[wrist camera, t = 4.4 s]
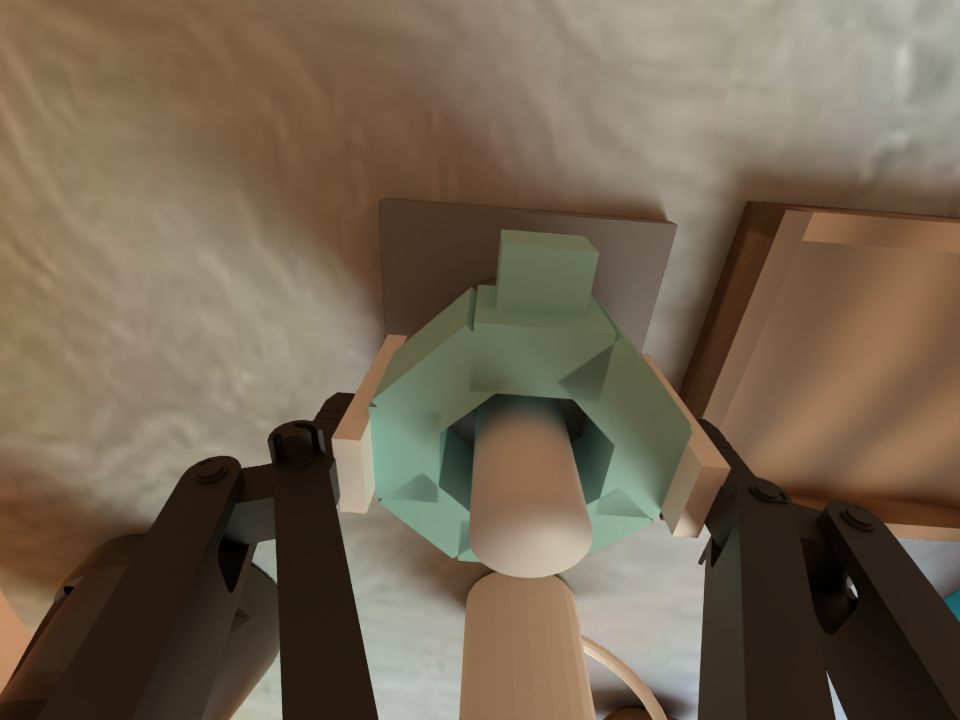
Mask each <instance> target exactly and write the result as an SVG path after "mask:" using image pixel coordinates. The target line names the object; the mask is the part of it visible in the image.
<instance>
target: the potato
mask: <svg viewBox="0 0 960 720" xmlns="http://www.w3.org/2000/svg"><path fill="white" fill-rule="evenodd" d="M665 716H666V718H667V720H678V719H675V718H673V717H671V716H668V715H665ZM604 720H653V719H652V717H651V715H650V714H649V712H648V711H647V710H644V709H640V708H636V707H625V708H622V709H619V710H616V711H615V712H613V713H611V714H610V715H608V716H607V717H606V718H605V719H604Z"/></svg>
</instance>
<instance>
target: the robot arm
mask: <svg viewBox="0 0 960 720" xmlns="http://www.w3.org/2000/svg"><path fill="white" fill-rule="evenodd" d="M406 341H407V336H402V335H389V334H388V336H387V338H386V340H385V341H384V343H383V345H382V347H381V349H380V351H379V352H378V354H377V356H376V358H375V360H374V362H373V363H372V365H371V367H370V369H369V371H368V373H367V374H366V376H365V378H364V380H363V382H362V383H361V385H360V387H359V389H358V391H357V393H356V394H353V393H340V392H337V393H336V394H334V395H333V396H332V397H330V398H329V399H327V400H326V401H325V403H324V404H323V406H322V408H321V409H320V412H318V414H317V415H316V417H315V420H313V421H307V420H298V421H292V422H288V423H285V424H283V425H281V426H279V427H277V428H275V429H274V430H273V431H272V432H271V434H270V435H269V438H268V446H269V450H270V455H271V459H272V463H270V464H266V465H261V466H255V467H248V468H241V464H240V463H239V461H238V460H237V459H235V458H233V457H230V456H217V457H211V458H208V459H205V460H203V461H200V462H198V463H196V464H195V465H193V466H192V467H190V468H189V469H188V470H187V471H186V472H185V473H184V474H183V475H182V477H181V478H180V480H179V482H178V483H177V485H176V487H175V488H174V490H173V492H172V494H171V495H170V497H169V499H168V500H167V502H166V504H165V505H164V507H163V509H162V510H161V512H160V514H159V515H158V517H157V519H156V520H155V522H154V524H153V525H152V527H151V529H150V530H149V532H148V534H147V535H135V536H127V537H122V538H118V539H115V540H112V541H109V542H107V543H105V544H103V545H101V546H99V547H98V548H97V549H95V550H94V551H93V552H92V553H91V554H90V555H89V556H88V557H87V558H86V559H85V560H84V561H83V562H82V563H81V564H80V565H79V566H78V567H77V568H76V569H75V571H74V572H73V573H72V574H71V575H70V576H69V577H68V578H67V579H66V580H65V582H64V583H63V584H62V586H61V587H60V589H59V591H58V593H57V594H56V596H55V599H54V603H53V605H52V606H51V608H50V609H49V611H48V612H47V614H46V616H45V617H44V619H43V621H42V622H41V624H40V626H39V627H38V629H37V631H36V632H35V634H34V636H33V638H32V640H31V642H30V643H29V645H28V647H27V649H26V650H25V652H24V654H23V656H22V658H21V660H20V661H19V663H18V665H17V667H16V669H15V670H14V672H13V674H12V676H11V678H10V679H9V681H8V683H7V685H6V686H5V688H4V689H3V691H2V692H1V694H0V720H230V719H231V717H232V716H233V715H234V713H235V712H236V711H237V709H238V708H239V707H240V706H241V704H242V703H243V702H244V700H245V699H246V698H247V696H248V695H249V694H250V692H251V691H252V690H253V689H254V687H255V686H256V685H257V683H258V682H259V681H260V679H261V678H262V677H263V675H264V674H265V673H266V671H267V670H268V669H269V667H270V666H271V665H272V663H273V662H274V660H275V658H276V656H277V655H278V652H279V650H280V663H281V689H282V715H283V720H379V719H378V714H377V709H376V704H375V699H374V694H373V689H372V684H371V679H370V674H369V669H368V664H367V659H366V654H365V649H364V644H363V639H362V634H361V629H360V624H359V619H358V614H357V609H356V604H355V599H354V594H353V589H352V584H351V579H350V574H349V569H348V564H347V559H346V554H345V549H344V544H343V539H342V534H341V529H340V524H339V519H338V514H337V509H336V505H337V503H338V500H339V501H340V509H341V512H352V513H366V514H367V511H368V508H369V505H370V502H371V499H372V496H373V493H374V490H375V481H374V467H373V453H372V439H371V425H370V419H369V409H368V407H369V404H370V402H371V400H372V398H373V396H374V394H375V391H376V389H377V387H378V385H379V383H380V381H381V379H382V377H383V375H384V372H385V370H386V368H387V366H388V364H389V362H390V360H391V358H392V356H393V354H394V351H396V350H397V349H398V348H399V347H400V346H402V345H403V344H404V343H405V342H406ZM641 355H642V356H643V357H644V359H645V360H646V361H647V363H648V364H649V365H650V367H651V368H652V369H653V370H654V372H655V373H656V375H657V376H658V378H659V379H660V380H661V382H662V383H663V385H664V386H665V388H666V389H667V390H668V392H669V393H670V395H671V396H672V398H673V399H674V400H675V402H676V403H677V405H678V406H679V408H680V409H681V410H682V412H683V413H684V415H685V416H686V418H687V419H688V420H689V422H690V423H691V426H690V428H691V430H692V434H691V436H690V439H689V441H688V442H687V444H686V447H685V449H684V452H683V454H682V457H681V459H680V462H679V464H678V467H677V470H676V472H675V475H674V477H673V480H672V482H671V485H670V487H669V490H668V492H667V495H666V497H665V500H664V502H663V505H662V507H661V512H662V514H663V516H664V519H665V521H666V523H667V525H668V527H669V530H670V532H671V534H672V536H680V537H694V538H698V536H699V534H700V532H701V530H702V528H703V526H704V524H705V525H706V527H707V528H708V530H709V532H710V534H711V537H710V539H709V541H708V543H707V545H706V547H705V549H704V551H703V553H702V555H701V557H700V559H699V562H698V564H700V565H702V564H703V562H704V560H706V565H705V584H704V604H703V624H702V644H701V664H700V683H699V703H698V720H836V718H835V713H834V708H833V703H832V698H831V693H830V688H829V683H828V678H827V673H828V675H829V678H830V680H831V682H832V685H833V687H834V689H835V692H836V694H837V696H838V698H839V701H840V703H841V705H842V708H843V710H844V712H845V715H846V717H847V719H848V720H960V622H959V620H958V619H957V618H956V616H955V615H954V614H953V612H952V611H951V610H950V608H949V607H948V606H947V604H946V603H945V602H944V601H943V599H942V598H941V597H940V595H939V594H938V593H937V591H936V590H935V589H934V587H933V586H932V585H931V583H930V582H929V581H928V580H927V578H926V577H925V576H924V574H923V573H922V572H921V570H920V569H919V568H918V566H917V565H916V564H915V562H914V561H913V560H912V559H911V557H910V556H909V555H908V553H907V552H906V551H905V549H904V548H903V547H902V545H901V544H900V543H899V541H898V540H897V539H896V538H895V536H894V535H893V534H892V532H891V531H890V530H889V528H888V527H887V526H886V525H885V524H884V523H883V522H882V521H881V520H880V519H879V518H878V517H877V516H875V515H874V514H872V513H871V512H869V511H868V510H866V509H865V508H863V507H861V506H858V505H856V504H853V503H850V502H846V501H841V500H833V501H829V502H828V503H827V504H826V506H825V508H824V509H823V511H820V510H816V509H813V508H809V507H806V506H802V505H799V504H796V503H793V502H792V500H791V498H790V496H789V495H788V494H787V493H786V492H785V491H784V490H783V489H782V488H780V487H779V486H777V485H776V484H774V483H772V482H770V481H768V480H765V479H763V478H759V477H755V475H754V474H753V473H752V471H751V470H750V469H749V468H748V466H747V465H746V464H745V462H744V461H743V460H742V459H741V457H740V456H739V455H738V453H737V452H736V451H735V450H733V447H732V446H731V445H730V443H729V442H728V441H726V438H725V437H724V436H723V434H722V433H721V432H720V430H719V429H718V428H717V427H715V426H714V425H712V424H711V423H710V422H708V421H707V420H706V419H699V418H694V417H693V415H692V414H691V412H690V411H689V410H688V408H687V407H686V406H685V404H684V403H683V401H682V400H681V399H680V397H679V396H678V395H677V393H676V392H675V390H674V389H673V388H672V386H671V385H670V384H669V382H668V381H667V379H666V378H665V377H664V375H663V374H662V373H661V371H660V370H659V368H658V367H657V366H656V364H655V363H654V362H653V360H652V359H651V357H650V356H649V355H648V354H641ZM272 539H276V558H277V585H278V588H277V586H276V585H275V584H274V583H273V582H272V581H271V580H270V579H269V578H268V577H267V576H265V575H264V574H263V573H262V572H260V571H259V570H258V569H256V568H255V567H253V566H252V565H251V562H252V559H253V556H254V552H255V549H256V546H257V543H258V542H262V541H267V540H272ZM853 584H854V586H855V588H856V591H857V595H858V598H857V597H856V596H855V595H854V593H853V591H852V589H851V588H850V587H851V586H852V585H853ZM826 671H827V673H826Z"/></svg>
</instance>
